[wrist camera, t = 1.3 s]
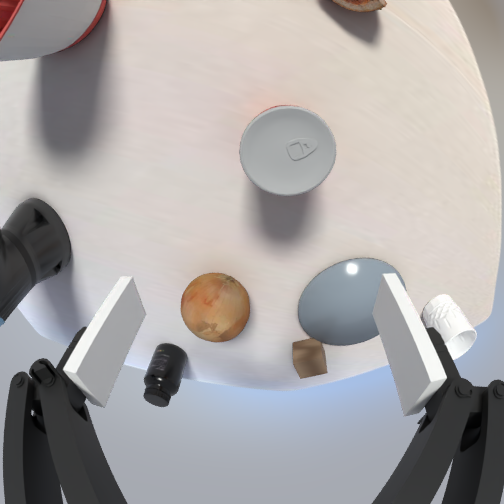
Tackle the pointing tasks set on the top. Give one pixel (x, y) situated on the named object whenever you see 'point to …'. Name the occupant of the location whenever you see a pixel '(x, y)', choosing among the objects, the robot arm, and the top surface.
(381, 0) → the fruit slice
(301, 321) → the plate
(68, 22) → the citrus juicer
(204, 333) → the onion
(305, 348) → the walnut block
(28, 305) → the top surface
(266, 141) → the canned food
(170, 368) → the supplement bottle
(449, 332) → the white cup
